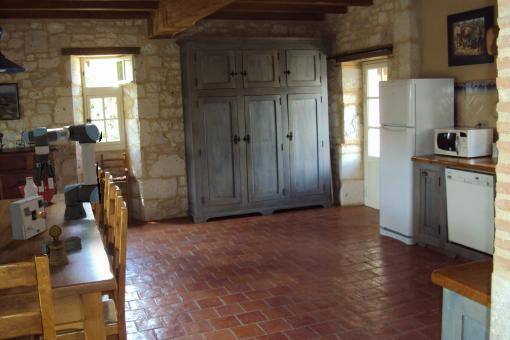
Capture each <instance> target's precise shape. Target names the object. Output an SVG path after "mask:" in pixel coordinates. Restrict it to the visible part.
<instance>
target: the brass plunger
mask: <svg viewBox="0 0 510 340" xmlns="http://www.w3.org/2000/svg"><path fill="white" fill-rule="evenodd" d="M31 215H32V218H42V219H46V220H47V218H48V213H47V211H46V210H45V211H42V212H41V213H31Z"/></svg>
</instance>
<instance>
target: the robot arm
mask: <svg viewBox="0 0 510 340" xmlns="http://www.w3.org/2000/svg"><path fill="white" fill-rule="evenodd" d="M100 138H101V132H100V130H99V128H98V126H97V125H96V124H94V123H81V124H78V123H77V124H70V125H69V124H68V125H65V126H60V127H58V128H47V127H45V126H44V127H35V128H34V127H33V130H25V131H23V132H22V141H23V142H24V143H27V144H28V143H30V144H32V143H33V144H34V148H35V158H36V161H38V163H35V174H34V176H35V177H34V180H35V182H37V183H38V187H39V192H44V187H43V183H44V181H43V175H44V171H45V173H46V174H47V176H48V178H47V183H48V184H49V189H52V188H54V186H53V183H54V178H55V175H56V174H55V171H54V169H53V168H54V167H53V164H52V160H50V159H51V155H50V146H49V143H53V142H54V143H56V142H58V141H63V142H65V141H68V142H78V145H79V146H80V147H81V149H80V150H81V164H82V177H83V182H82V183H75V184H69V185H67V186H64V188H63V195H64V205H65V209H64V213H63V219H64V220H68V221H69V220H70V221H72V220H81V219H85V218H87V217H88V215H87V212H86V209H85V206H84V204H88V203H89V204H94V203H95V204H97V203H100V194H99V184H98V179H97V163H96V151H95V150H96V149H95V146H96V145H97V141H99V140H100Z"/></svg>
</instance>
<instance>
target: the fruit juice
mask: <svg viewBox="0 0 510 340" xmlns="http://www.w3.org/2000/svg"><path fill="white" fill-rule="evenodd" d="M25 181H26V183H25V185H26V186H25V188H24V192H25V198H27V197H30V196H38V194H37V191H38V189H37V186H36V185H35V184H36V183H35V182H34V177H33V176H28V177H25Z"/></svg>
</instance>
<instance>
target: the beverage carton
mask: <svg viewBox="0 0 510 340" xmlns="http://www.w3.org/2000/svg"><path fill="white" fill-rule="evenodd" d="M60 240H63V242H64V245H65V251H66V253H67V252H71V251H72V252H73V251H78V250H81V249H83V247H82V239H81V237H79V236H77V235H75V236H73V235H72V236H69V237H66V238H62V239H60ZM52 241H53V240H52ZM52 241H48V242H42V243H41V248H42V254H43V253H44V254H43V255H45V254H47V255H49V256H48V257H50V244H51V242H52Z"/></svg>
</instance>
